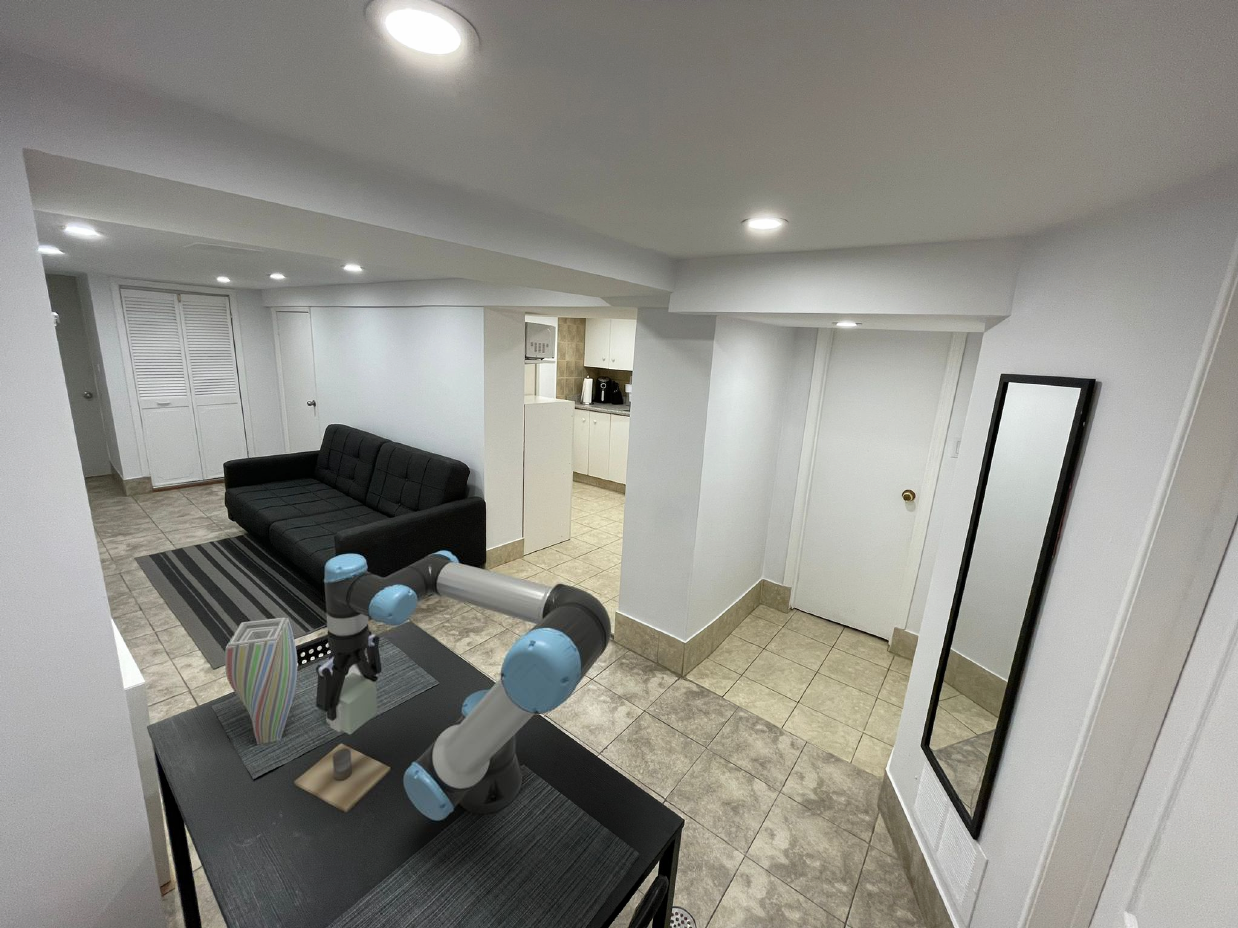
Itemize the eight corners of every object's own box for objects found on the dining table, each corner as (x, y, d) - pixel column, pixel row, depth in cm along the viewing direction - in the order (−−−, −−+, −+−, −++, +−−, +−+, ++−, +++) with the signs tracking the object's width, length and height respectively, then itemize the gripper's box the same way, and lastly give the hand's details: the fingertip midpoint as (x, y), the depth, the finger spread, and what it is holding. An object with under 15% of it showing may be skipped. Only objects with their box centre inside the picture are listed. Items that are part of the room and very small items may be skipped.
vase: (297, 748, 121) (285, 642, 114) (229, 762, 116) (212, 652, 109) (308, 709, 133) (297, 611, 126) (247, 720, 128) (233, 618, 121)
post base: (390, 769, 118) (389, 748, 116) (346, 812, 107) (344, 789, 105) (341, 745, 123) (339, 724, 121) (294, 784, 112) (291, 761, 111)
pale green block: (377, 712, 111) (376, 683, 109) (350, 734, 105) (348, 703, 103) (354, 701, 114) (353, 672, 112) (326, 722, 108) (324, 691, 105)
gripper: (374, 599, 114) (376, 683, 120) (288, 646, 96) (296, 741, 102) (399, 609, 111) (400, 694, 117) (316, 659, 93) (322, 756, 99)
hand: (351, 716), depth 109 cm, fingers closed on pale green block, 7 cm apart
